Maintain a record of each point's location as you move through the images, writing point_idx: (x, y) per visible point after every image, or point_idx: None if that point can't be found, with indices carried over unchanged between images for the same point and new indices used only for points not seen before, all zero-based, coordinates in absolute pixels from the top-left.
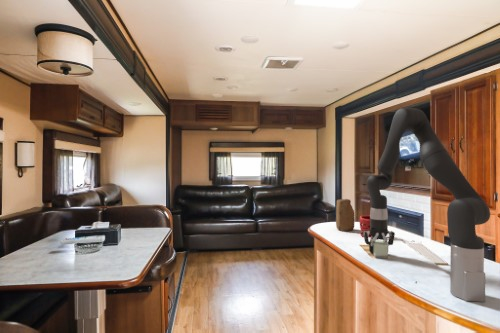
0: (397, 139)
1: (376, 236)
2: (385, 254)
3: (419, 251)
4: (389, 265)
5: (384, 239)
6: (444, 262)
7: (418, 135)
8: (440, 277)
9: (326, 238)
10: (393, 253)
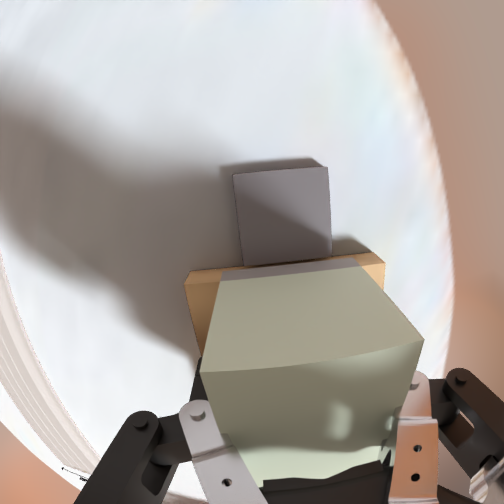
0: None
1: (405, 497)
2: (246, 285)
3: (43, 408)
4: (236, 146)
5: (241, 479)
6: None
7: None
8: (5, 38)
9: None
10: (158, 415)
